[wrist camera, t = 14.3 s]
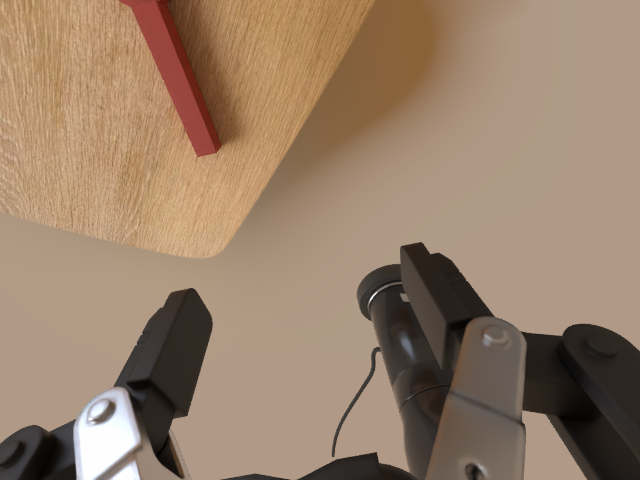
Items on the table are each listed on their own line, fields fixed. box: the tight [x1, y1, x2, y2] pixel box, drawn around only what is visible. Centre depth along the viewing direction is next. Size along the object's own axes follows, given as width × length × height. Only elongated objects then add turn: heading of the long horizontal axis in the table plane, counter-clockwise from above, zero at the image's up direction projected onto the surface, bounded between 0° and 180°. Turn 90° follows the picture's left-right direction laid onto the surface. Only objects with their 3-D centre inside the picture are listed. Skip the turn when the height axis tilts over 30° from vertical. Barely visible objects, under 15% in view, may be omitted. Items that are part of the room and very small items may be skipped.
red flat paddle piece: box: [119, 0, 221, 157], centre depth 26 cm, size 19×6×3 cm, turn 11°
